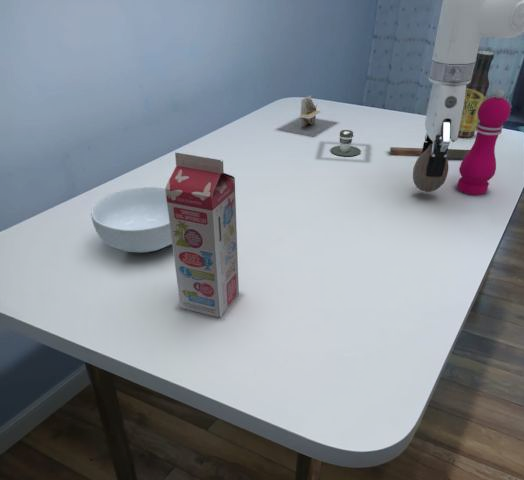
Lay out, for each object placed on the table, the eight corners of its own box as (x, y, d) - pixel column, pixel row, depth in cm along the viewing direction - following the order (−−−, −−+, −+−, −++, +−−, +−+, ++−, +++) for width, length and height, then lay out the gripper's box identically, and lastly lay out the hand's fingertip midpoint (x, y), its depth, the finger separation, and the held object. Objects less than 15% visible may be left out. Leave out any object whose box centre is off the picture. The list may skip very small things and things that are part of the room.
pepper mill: (491, 197, 105) (524, 94, 92) (456, 194, 106) (484, 92, 93) (486, 184, 111) (516, 85, 97) (452, 181, 111) (478, 83, 98)
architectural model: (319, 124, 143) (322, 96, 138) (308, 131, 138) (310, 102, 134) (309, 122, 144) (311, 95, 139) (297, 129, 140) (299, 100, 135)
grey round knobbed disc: (368, 145, 130) (371, 125, 127) (367, 161, 121) (370, 140, 118) (322, 142, 131) (324, 122, 128) (318, 158, 123) (320, 137, 119)
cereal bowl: (93, 229, 93) (84, 194, 89) (178, 215, 98) (174, 180, 94) (106, 274, 82) (97, 235, 77) (203, 255, 86) (200, 218, 82)
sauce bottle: (446, 134, 137) (465, 51, 124) (458, 129, 140) (478, 48, 127) (467, 140, 133) (490, 55, 120) (479, 135, 136) (502, 52, 123)
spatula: (472, 152, 126) (473, 147, 125) (477, 160, 121) (478, 155, 121) (388, 149, 128) (389, 144, 127) (390, 157, 123) (391, 152, 122)
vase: (414, 179, 108) (422, 137, 102) (446, 184, 106) (456, 142, 100) (406, 191, 103) (414, 148, 97) (440, 197, 101) (450, 153, 95)
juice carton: (201, 285, 79) (187, 144, 65) (238, 294, 77) (233, 151, 63) (180, 307, 75) (161, 161, 60) (220, 318, 73) (210, 169, 58)
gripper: (483, 84, 83) (457, 186, 95) (462, 61, 96) (442, 154, 108) (437, 83, 84) (417, 185, 96) (423, 61, 97) (407, 153, 109)
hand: (430, 168), depth 102 cm, fingers closed on vase, 6 cm apart
